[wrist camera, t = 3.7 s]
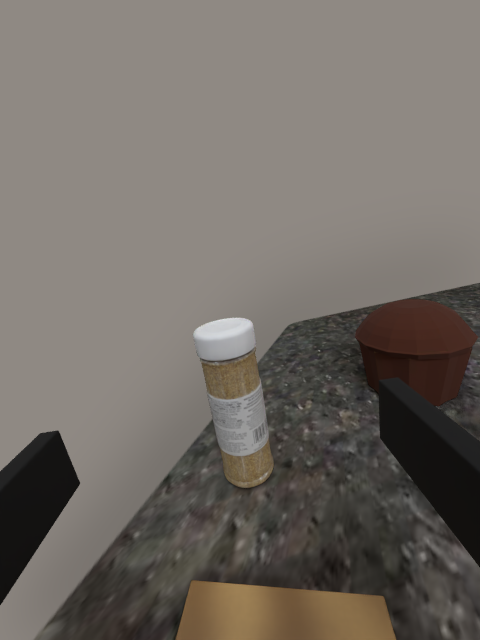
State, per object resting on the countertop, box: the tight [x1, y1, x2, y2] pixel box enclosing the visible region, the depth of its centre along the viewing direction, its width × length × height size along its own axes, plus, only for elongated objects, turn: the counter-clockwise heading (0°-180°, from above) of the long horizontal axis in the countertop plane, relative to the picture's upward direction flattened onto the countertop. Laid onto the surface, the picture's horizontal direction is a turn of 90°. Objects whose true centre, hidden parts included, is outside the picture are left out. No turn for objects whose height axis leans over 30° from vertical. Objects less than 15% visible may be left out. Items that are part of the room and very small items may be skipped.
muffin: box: [355, 299, 478, 406], centre depth 30 cm, size 12×11×10 cm
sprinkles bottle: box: [193, 318, 274, 488], centre depth 21 cm, size 5×5×13 cm
